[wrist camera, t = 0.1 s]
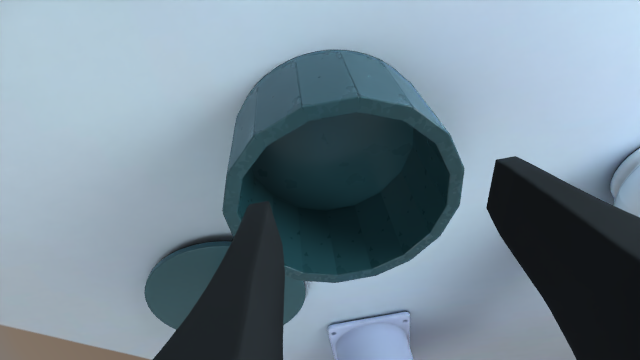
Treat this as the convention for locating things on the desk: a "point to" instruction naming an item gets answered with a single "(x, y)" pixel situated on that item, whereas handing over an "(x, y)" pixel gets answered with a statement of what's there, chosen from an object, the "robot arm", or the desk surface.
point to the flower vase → (627, 185)
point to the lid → (199, 283)
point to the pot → (343, 166)
